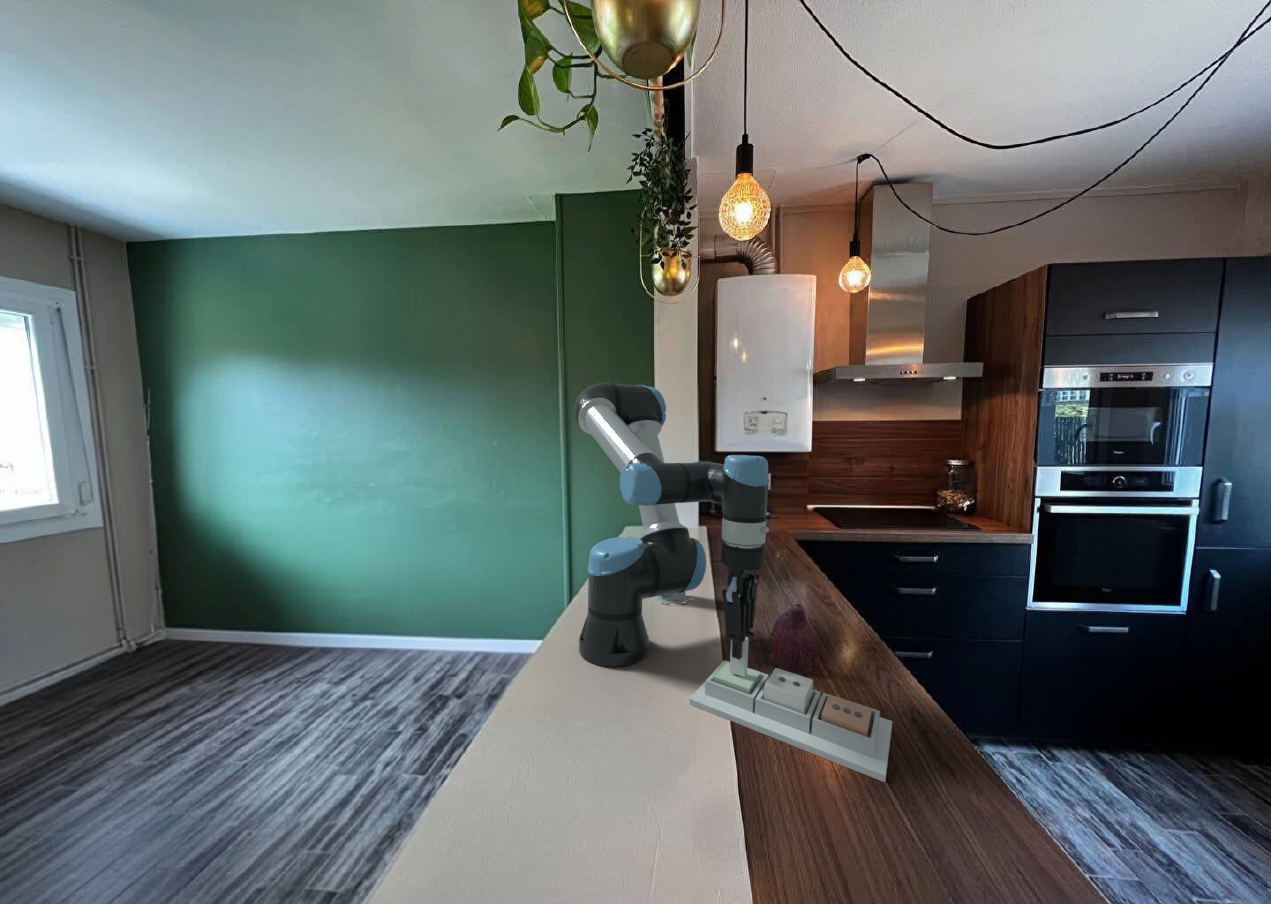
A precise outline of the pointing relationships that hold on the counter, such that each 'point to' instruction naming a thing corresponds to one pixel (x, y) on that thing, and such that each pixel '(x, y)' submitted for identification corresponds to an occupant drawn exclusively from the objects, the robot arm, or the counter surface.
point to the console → (800, 726)
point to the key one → (738, 679)
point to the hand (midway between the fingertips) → (738, 672)
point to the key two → (789, 690)
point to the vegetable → (793, 643)
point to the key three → (847, 715)
